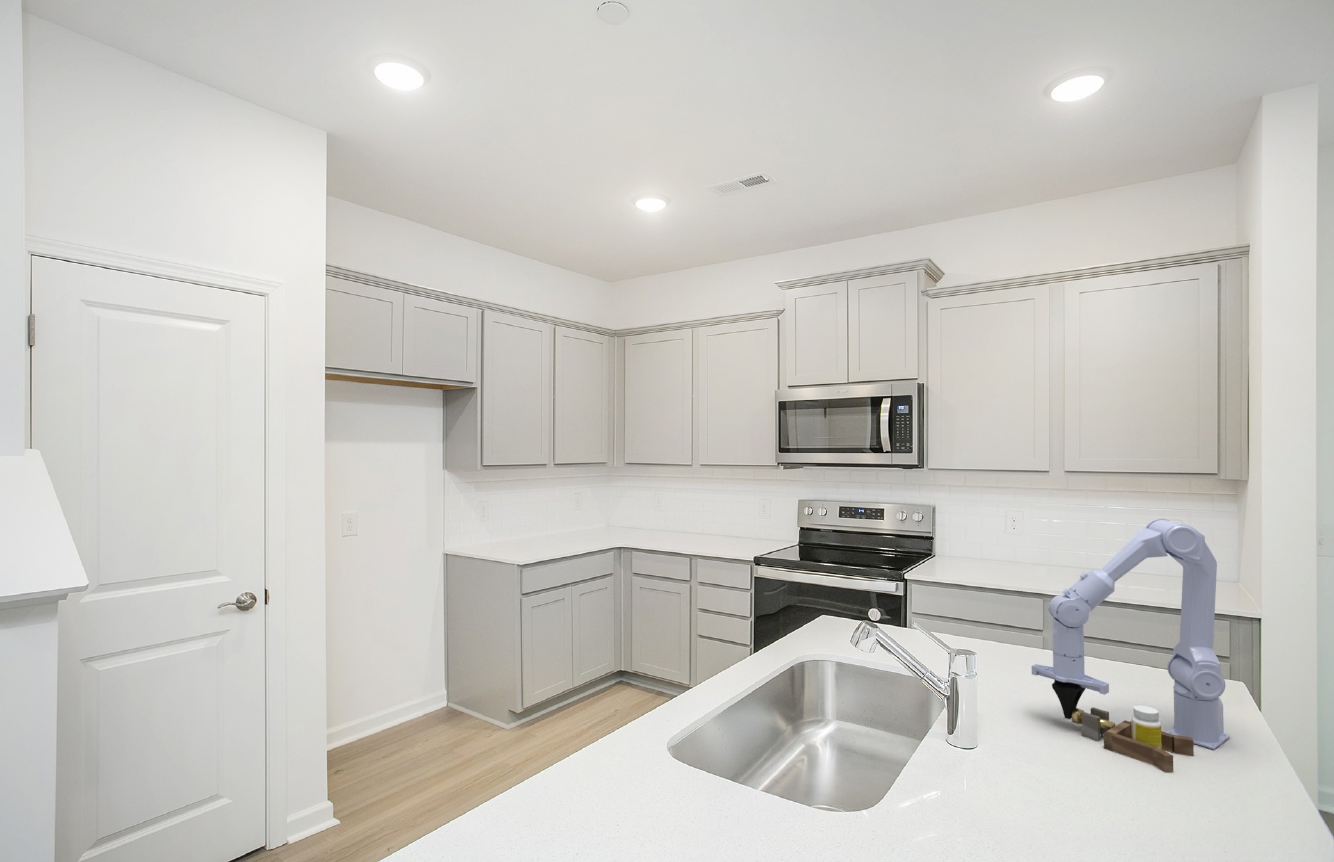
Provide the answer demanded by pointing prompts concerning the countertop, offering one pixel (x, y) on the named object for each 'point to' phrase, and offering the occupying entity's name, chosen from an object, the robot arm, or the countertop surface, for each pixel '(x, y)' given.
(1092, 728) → the dock
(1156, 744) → the supplement bottle
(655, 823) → the countertop surface
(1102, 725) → the lock pin
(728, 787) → the countertop surface
